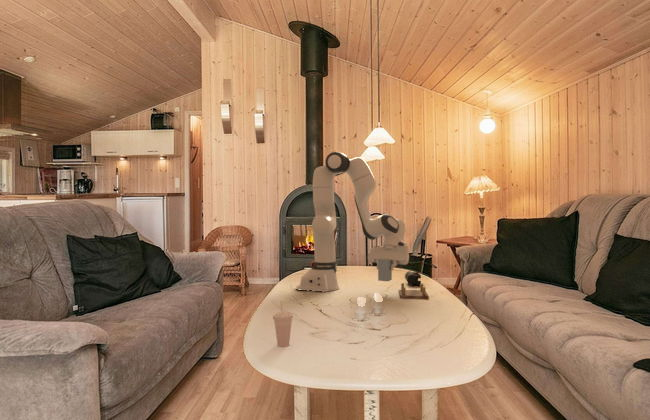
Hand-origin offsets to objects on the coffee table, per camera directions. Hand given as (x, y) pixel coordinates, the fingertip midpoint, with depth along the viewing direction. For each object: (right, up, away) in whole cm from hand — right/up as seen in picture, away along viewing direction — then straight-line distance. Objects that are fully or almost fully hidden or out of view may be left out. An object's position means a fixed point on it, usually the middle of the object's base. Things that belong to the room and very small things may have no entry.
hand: (384, 269), depth 203 cm
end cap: (+19, -12, +24) cm, 33 cm away
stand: (+14, -12, -1) cm, 18 cm away
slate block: (0, -5, +1) cm, 5 cm away
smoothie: (-42, -15, -68) cm, 82 cm away
